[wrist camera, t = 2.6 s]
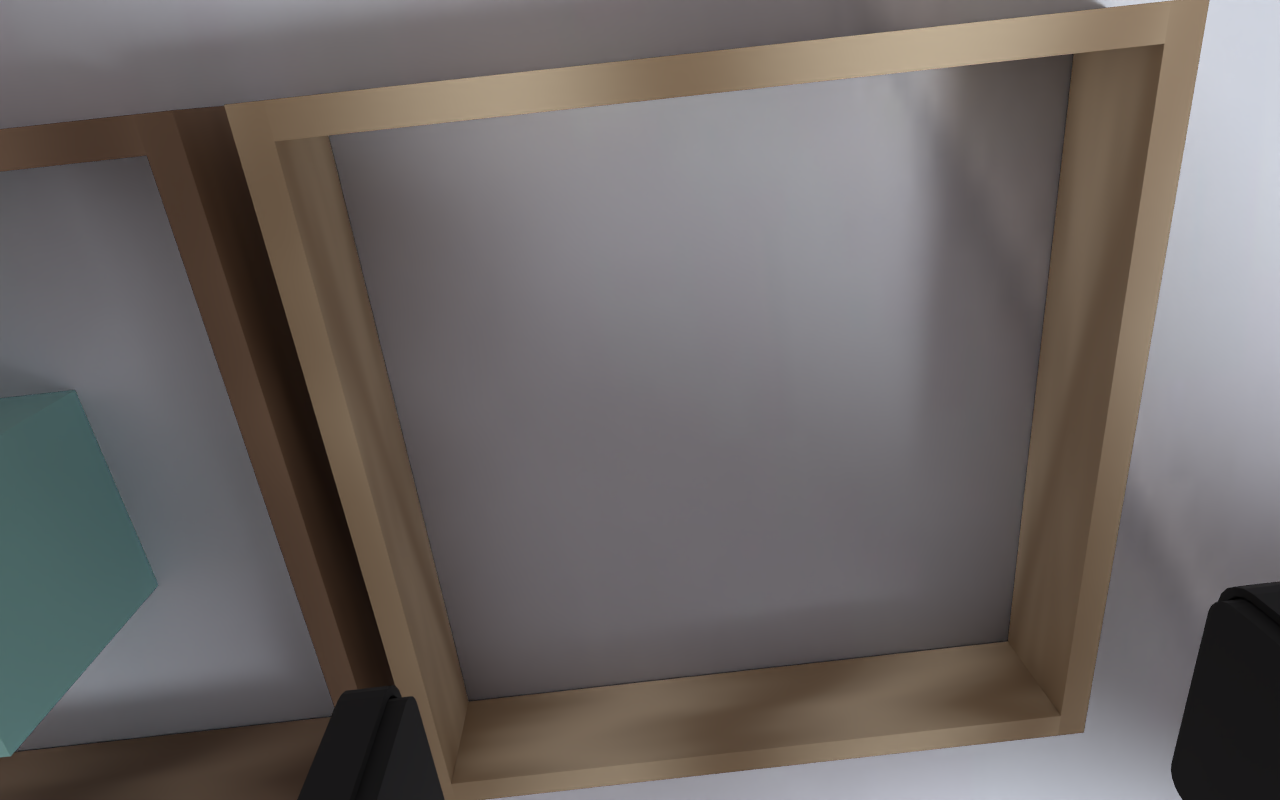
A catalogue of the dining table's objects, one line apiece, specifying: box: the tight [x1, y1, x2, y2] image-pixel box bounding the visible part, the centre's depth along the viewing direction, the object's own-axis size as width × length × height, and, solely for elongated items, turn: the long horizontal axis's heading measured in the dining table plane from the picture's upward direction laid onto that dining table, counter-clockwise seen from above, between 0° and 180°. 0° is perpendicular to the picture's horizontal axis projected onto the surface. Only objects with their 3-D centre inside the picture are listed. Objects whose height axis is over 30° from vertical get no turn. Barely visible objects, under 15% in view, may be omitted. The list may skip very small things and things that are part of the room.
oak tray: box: [224, 0, 1209, 800], centre depth 16 cm, size 15×15×2 cm
